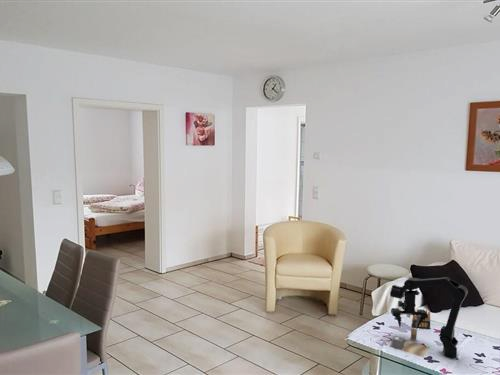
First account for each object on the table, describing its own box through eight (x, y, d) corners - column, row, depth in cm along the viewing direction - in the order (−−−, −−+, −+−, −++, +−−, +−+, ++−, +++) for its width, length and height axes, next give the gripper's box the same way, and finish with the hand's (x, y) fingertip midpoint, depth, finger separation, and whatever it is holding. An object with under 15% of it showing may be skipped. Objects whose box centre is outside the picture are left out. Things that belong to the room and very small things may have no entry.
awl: (417, 342, 235) (418, 330, 234) (412, 343, 234) (413, 331, 233) (414, 340, 237) (414, 328, 237) (409, 340, 237) (410, 328, 236)
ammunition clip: (429, 328, 255) (430, 309, 254) (430, 329, 253) (431, 310, 252) (411, 326, 256) (412, 308, 255) (412, 328, 255) (413, 309, 254)
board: (429, 349, 226) (430, 347, 226) (422, 359, 215) (423, 357, 215) (396, 339, 237) (397, 337, 237) (388, 348, 226) (388, 346, 226)
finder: (403, 346, 227) (404, 338, 226) (401, 349, 223) (401, 341, 222) (394, 343, 230) (395, 335, 229) (391, 346, 226) (392, 338, 225)
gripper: (422, 296, 237) (420, 323, 238) (389, 295, 239) (387, 321, 240) (428, 303, 226) (427, 331, 227) (394, 301, 227) (392, 329, 229)
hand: (408, 327), depth 231 cm, fingers open, 9 cm apart
